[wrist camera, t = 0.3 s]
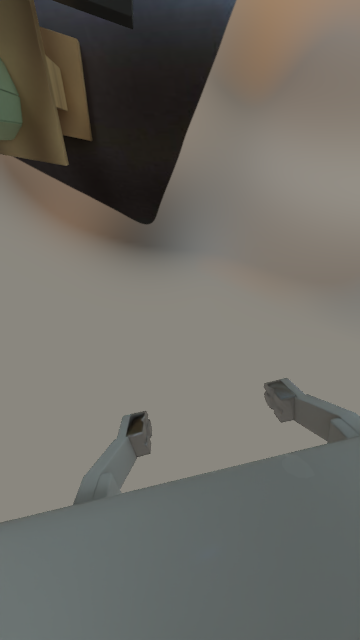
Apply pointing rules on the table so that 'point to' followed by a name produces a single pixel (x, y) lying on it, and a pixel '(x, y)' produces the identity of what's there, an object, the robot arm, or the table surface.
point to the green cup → (9, 106)
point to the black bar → (105, 9)
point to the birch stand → (42, 84)
